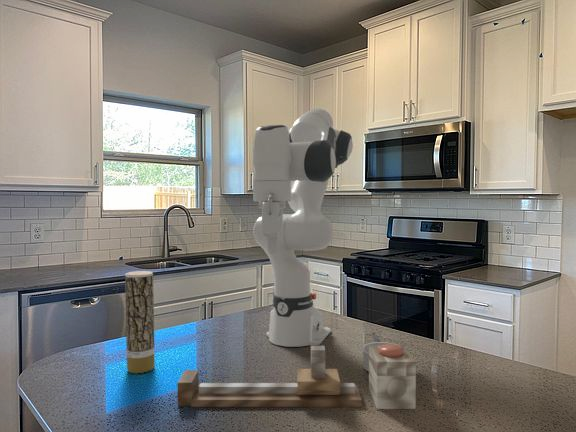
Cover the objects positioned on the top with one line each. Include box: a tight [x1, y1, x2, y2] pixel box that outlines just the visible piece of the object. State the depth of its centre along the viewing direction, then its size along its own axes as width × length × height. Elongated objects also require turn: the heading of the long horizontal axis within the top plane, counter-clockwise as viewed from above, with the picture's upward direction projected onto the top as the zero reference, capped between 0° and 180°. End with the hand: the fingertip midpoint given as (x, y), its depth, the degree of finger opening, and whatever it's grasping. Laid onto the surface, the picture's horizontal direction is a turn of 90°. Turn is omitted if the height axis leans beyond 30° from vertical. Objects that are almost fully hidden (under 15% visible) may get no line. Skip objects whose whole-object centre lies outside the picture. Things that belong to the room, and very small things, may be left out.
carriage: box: [296, 345, 341, 395], centre depth 98 cm, size 9×7×9 cm
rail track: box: [176, 345, 417, 410], centre depth 98 cm, size 50×10×10 cm, turn 89°
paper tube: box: [124, 270, 156, 374], centre depth 114 cm, size 7×7×25 cm
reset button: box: [379, 343, 404, 358], centre depth 97 cm, size 5×5×4 cm
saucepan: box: [361, 331, 409, 373], centre depth 118 cm, size 12×20×6 cm, turn 1°
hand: (272, 252), depth 105 cm, fingers closed
